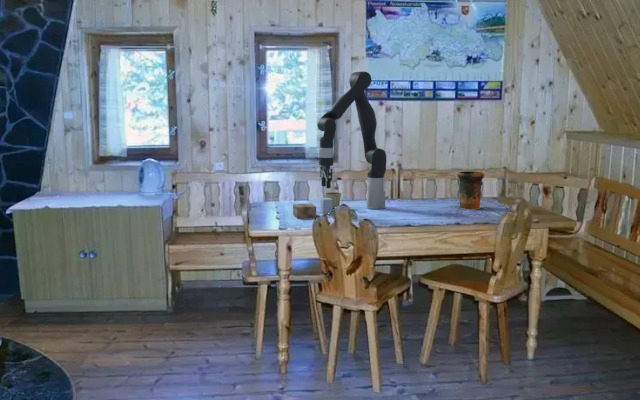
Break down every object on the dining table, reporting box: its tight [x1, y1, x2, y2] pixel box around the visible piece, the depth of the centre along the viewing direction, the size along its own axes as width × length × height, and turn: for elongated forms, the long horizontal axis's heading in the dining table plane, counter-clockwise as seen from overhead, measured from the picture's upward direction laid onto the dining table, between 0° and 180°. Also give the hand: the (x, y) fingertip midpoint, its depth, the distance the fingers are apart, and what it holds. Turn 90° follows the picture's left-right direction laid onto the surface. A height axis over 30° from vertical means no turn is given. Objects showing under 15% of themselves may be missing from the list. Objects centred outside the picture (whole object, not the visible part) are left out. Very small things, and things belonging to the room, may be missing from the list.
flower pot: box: [324, 191, 343, 210], centre depth 352 cm, size 9×9×9 cm
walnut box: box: [292, 202, 317, 219], centre depth 330 cm, size 10×10×6 cm
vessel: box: [457, 170, 485, 211], centre depth 353 cm, size 14×14×20 cm
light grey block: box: [319, 197, 333, 216], centre depth 338 cm, size 5×5×8 cm
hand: (326, 187), depth 336 cm, fingers open, 8 cm apart
